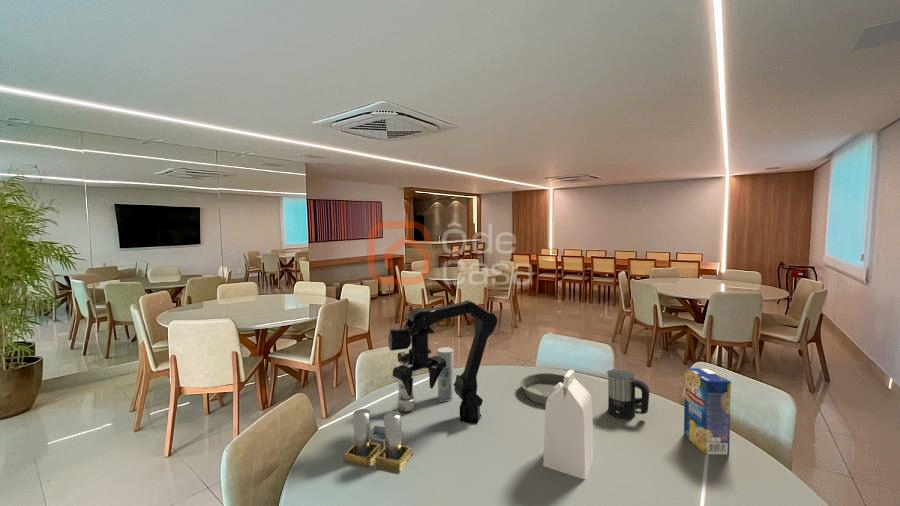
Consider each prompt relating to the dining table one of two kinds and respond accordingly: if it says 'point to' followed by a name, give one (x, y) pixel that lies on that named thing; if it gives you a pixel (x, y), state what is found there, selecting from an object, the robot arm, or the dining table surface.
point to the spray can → (446, 375)
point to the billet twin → (362, 432)
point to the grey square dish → (380, 430)
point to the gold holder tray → (379, 459)
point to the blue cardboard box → (707, 410)
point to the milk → (569, 428)
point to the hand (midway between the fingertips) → (420, 392)
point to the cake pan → (541, 385)
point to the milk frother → (625, 394)
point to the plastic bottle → (405, 395)
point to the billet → (393, 435)
